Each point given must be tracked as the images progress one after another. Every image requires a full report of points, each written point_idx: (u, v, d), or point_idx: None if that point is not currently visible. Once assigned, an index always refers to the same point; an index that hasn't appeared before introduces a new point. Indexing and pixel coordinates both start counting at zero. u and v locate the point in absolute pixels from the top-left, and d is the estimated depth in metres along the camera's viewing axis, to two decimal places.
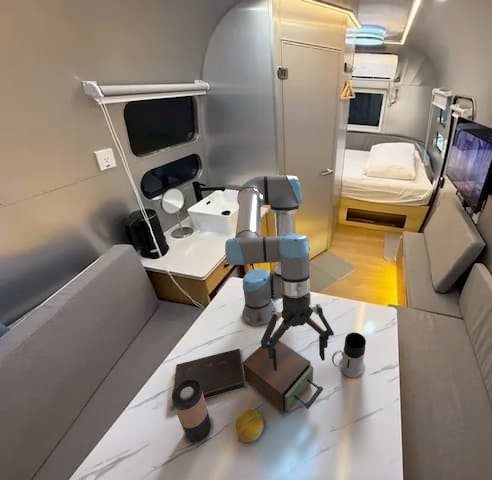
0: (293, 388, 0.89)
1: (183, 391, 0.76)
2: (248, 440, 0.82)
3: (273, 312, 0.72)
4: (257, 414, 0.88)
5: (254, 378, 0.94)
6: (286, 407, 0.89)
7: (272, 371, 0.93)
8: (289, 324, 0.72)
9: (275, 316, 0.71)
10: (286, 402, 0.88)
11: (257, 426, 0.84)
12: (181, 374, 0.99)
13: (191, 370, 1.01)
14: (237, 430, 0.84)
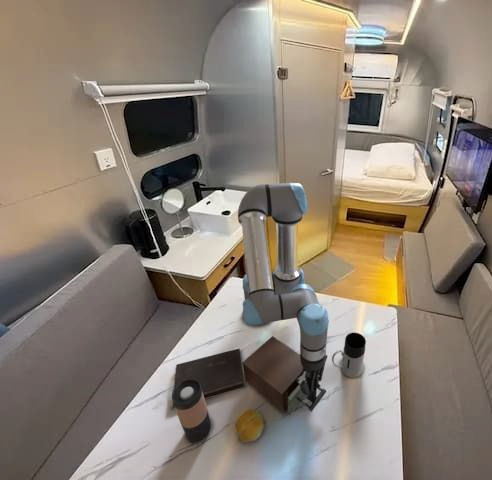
0: (296, 390, 0.88)
1: (183, 391, 0.76)
2: (248, 440, 0.82)
3: (298, 381, 0.79)
4: (257, 414, 0.88)
5: (254, 378, 0.94)
6: (289, 409, 0.89)
7: (272, 371, 0.93)
8: (314, 375, 0.82)
9: (304, 383, 0.78)
10: (289, 404, 0.87)
11: (257, 426, 0.84)
12: (181, 374, 0.99)
13: (191, 370, 1.01)
14: (237, 430, 0.84)
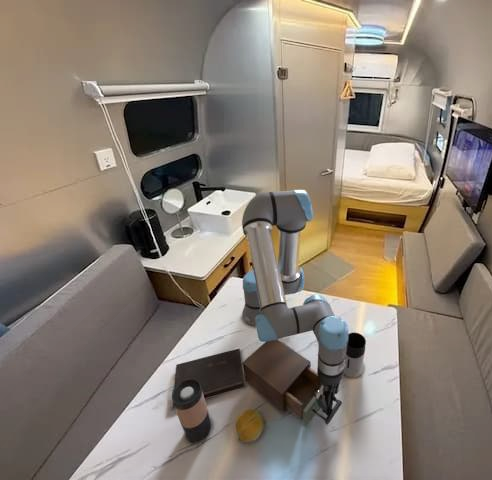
0: (311, 402, 0.85)
1: (183, 391, 0.76)
2: (248, 440, 0.82)
3: (316, 396, 0.76)
4: (257, 414, 0.88)
5: (254, 378, 0.94)
6: (304, 422, 0.85)
7: (272, 371, 0.93)
8: (331, 389, 0.79)
9: (321, 398, 0.76)
10: (304, 417, 0.84)
11: (257, 426, 0.84)
12: (181, 374, 0.99)
13: (191, 370, 1.01)
14: (237, 430, 0.84)
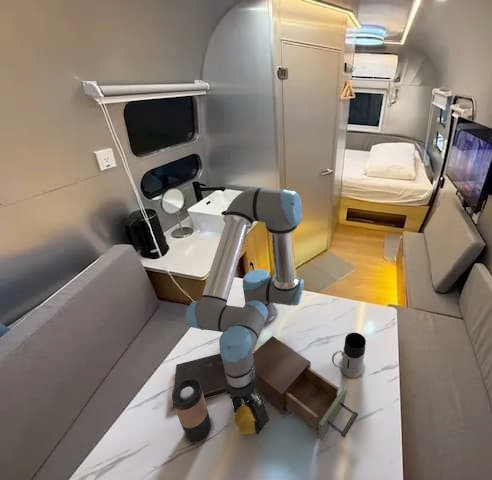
0: (327, 414, 0.82)
1: (183, 391, 0.76)
2: (247, 432, 0.81)
3: (258, 402, 0.74)
4: None
5: None
6: (319, 435, 0.83)
7: (272, 371, 0.93)
8: None
9: (261, 397, 0.75)
10: (320, 429, 0.81)
11: None
12: (181, 374, 0.99)
13: (191, 370, 1.01)
14: (236, 422, 0.83)
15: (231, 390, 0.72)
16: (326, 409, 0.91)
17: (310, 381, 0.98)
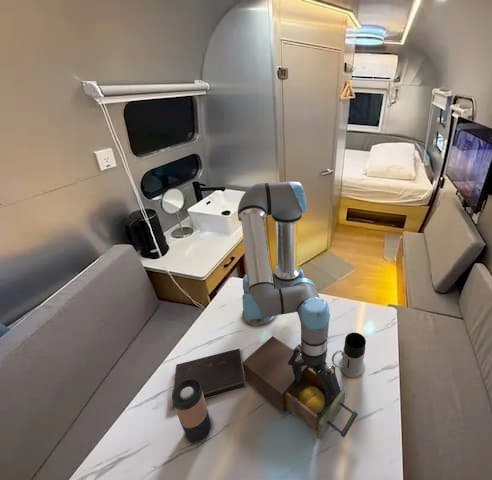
0: (327, 414, 0.82)
1: (183, 391, 0.76)
2: None
3: (330, 370, 0.78)
4: (317, 390, 0.94)
5: (254, 378, 0.94)
6: (319, 434, 0.83)
7: (272, 371, 0.93)
8: None
9: None
10: (319, 429, 0.81)
11: (320, 400, 0.90)
12: (181, 374, 0.99)
13: (191, 370, 1.01)
14: None
15: (306, 359, 0.77)
16: (326, 409, 0.91)
17: (310, 381, 0.98)
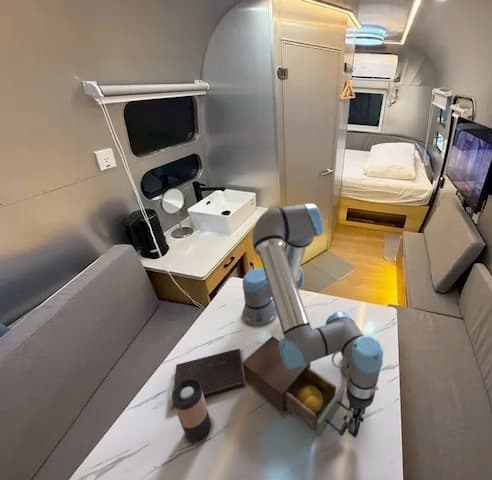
0: (325, 413, 0.83)
1: (183, 391, 0.76)
2: None
3: (346, 419, 0.72)
4: (316, 389, 0.94)
5: (254, 378, 0.94)
6: (317, 433, 0.83)
7: (272, 371, 0.93)
8: (361, 411, 0.75)
9: (352, 422, 0.71)
10: (317, 428, 0.82)
11: (318, 399, 0.90)
12: (181, 374, 0.99)
13: (191, 370, 1.01)
14: None
15: None
16: (324, 408, 0.91)
17: (308, 380, 0.98)
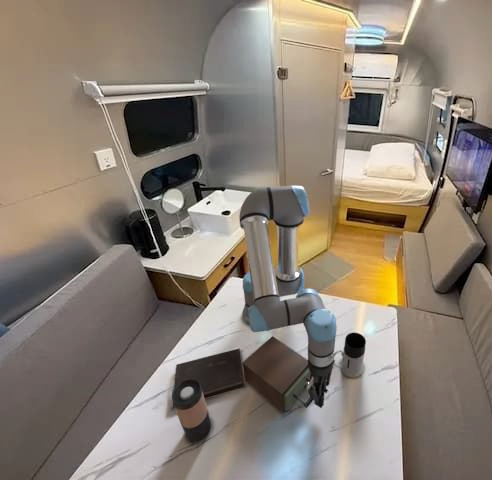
0: (292, 387, 0.89)
1: (183, 391, 0.76)
2: None
3: (306, 387, 0.78)
4: None
5: (254, 378, 0.94)
6: (285, 406, 0.90)
7: (272, 371, 0.93)
8: (322, 381, 0.81)
9: (312, 389, 0.78)
10: (284, 401, 0.88)
11: None
12: (181, 374, 0.99)
13: (191, 370, 1.01)
14: None
15: None
16: None
17: None
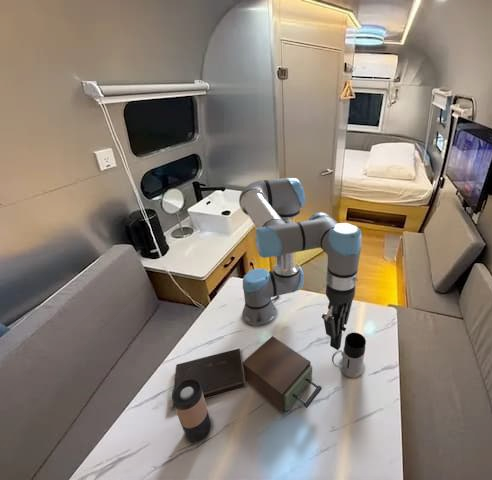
0: (292, 387, 0.89)
1: (183, 391, 0.76)
2: None
3: (325, 317, 0.69)
4: None
5: (254, 378, 0.94)
6: (285, 406, 0.90)
7: (272, 371, 0.93)
8: (341, 313, 0.72)
9: (331, 319, 0.68)
10: (284, 401, 0.88)
11: None
12: (181, 374, 0.99)
13: (191, 370, 1.01)
14: None
15: None
16: None
17: None
